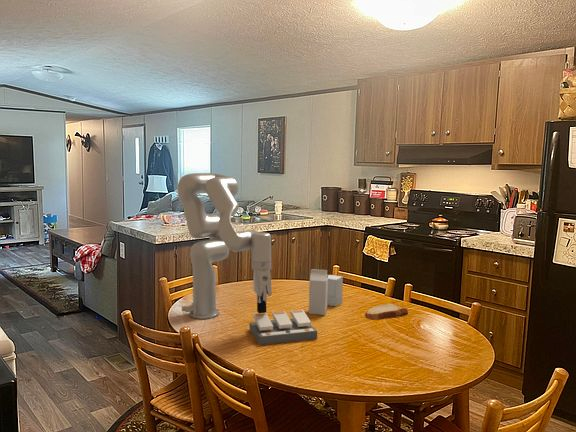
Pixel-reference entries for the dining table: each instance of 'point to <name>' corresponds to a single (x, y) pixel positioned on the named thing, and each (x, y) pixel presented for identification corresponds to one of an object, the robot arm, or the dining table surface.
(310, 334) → the switch unit
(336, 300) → the supplement box
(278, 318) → the switch middle
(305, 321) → the switch right
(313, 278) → the milk carton
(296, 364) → the dining table surface
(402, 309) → the slice of bread
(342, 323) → the dining table surface
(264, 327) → the switch left
